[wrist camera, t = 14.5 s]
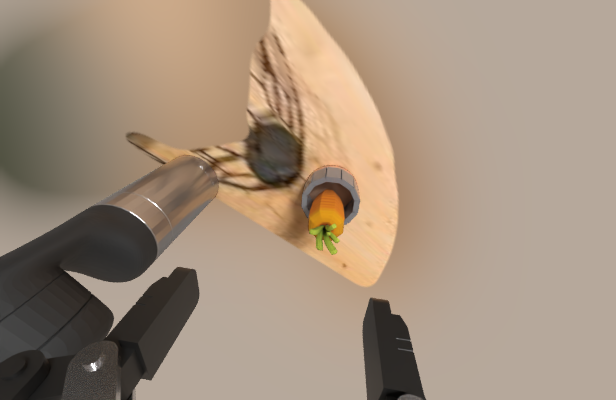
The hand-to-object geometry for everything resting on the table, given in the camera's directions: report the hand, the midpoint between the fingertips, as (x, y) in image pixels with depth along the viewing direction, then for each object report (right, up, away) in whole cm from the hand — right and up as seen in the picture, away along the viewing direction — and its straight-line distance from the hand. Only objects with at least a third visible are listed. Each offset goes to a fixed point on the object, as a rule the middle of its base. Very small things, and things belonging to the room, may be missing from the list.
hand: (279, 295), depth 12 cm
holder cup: (+5, +6, +32) cm, 33 cm away
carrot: (+5, +6, +31) cm, 32 cm away
